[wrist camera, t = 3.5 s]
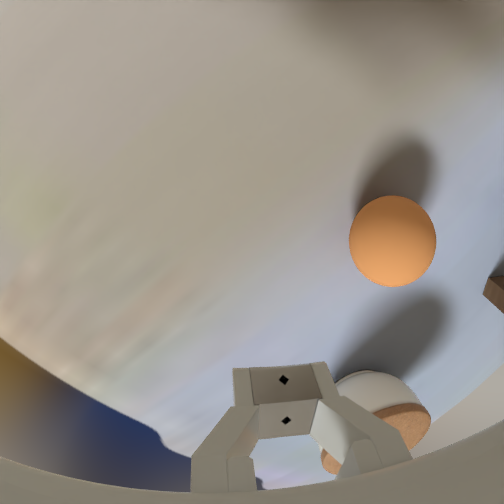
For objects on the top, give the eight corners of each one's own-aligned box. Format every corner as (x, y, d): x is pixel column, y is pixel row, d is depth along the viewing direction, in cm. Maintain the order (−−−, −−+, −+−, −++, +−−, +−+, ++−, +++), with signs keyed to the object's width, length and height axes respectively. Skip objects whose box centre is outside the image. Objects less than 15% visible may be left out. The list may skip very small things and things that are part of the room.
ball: (340, 184, 21) (381, 210, 16) (412, 188, 22) (462, 213, 16) (332, 263, 23) (363, 308, 18) (399, 260, 24) (439, 299, 19)
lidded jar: (407, 340, 28) (453, 408, 20) (392, 405, 33) (422, 465, 24) (303, 368, 28) (329, 452, 19) (306, 429, 32) (324, 498, 24)
